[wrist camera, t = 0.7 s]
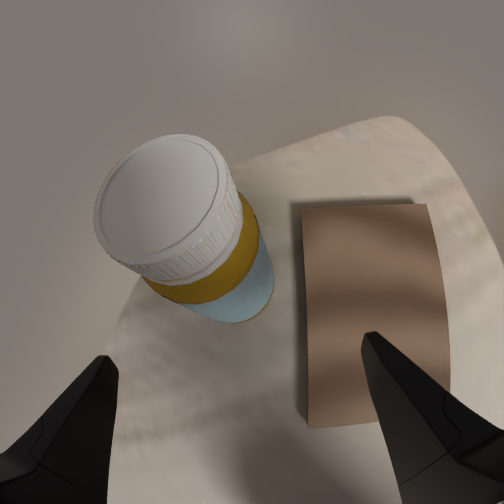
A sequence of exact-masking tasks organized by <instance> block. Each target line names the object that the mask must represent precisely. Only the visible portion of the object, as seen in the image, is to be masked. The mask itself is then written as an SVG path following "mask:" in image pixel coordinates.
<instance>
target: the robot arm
mask: <svg viewBox="0 0 504 504" xmlns="http://www.w3.org/2000/svg"><path fill="white" fill-rule="evenodd" d="M361 356H362V361H363V365H364V369H365V374H366V378H367V383H368V388H369V392H370V395H371V398H372V401H373V404H374V407H375V410H376V413H377V416H378V419H379V422H380V426H381V429H382V432H383V435H384V438H385V442H386V445H387V448H388V452H389V455H390V459H391V462H392V466H393V469H394V473H395V476H396V480H397V484H398V488H399V492H400V496H401V500H402V504H504V430H502V429H500V428H498V427H496V426H494V425H493V424H491V423H490V422H488V421H487V420H485V419H484V418H482V417H481V416H479V415H478V414H477V413H475V412H474V411H472V410H471V409H469V408H468V407H467V406H465V405H464V404H463V403H461V402H460V401H459V400H458V399H456V398H455V397H454V396H453V395H452V394H450V393H449V392H448V391H447V390H445V388H443V387H442V386H441V385H440V384H439V383H438V382H436V381H435V380H434V379H433V378H432V377H431V376H429V375H428V374H427V373H426V372H425V371H423V370H422V369H421V368H420V367H419V366H418V365H416V364H415V363H414V362H413V361H412V360H411V359H409V358H408V357H407V356H406V355H405V354H403V353H402V352H401V351H400V350H399V349H397V348H396V347H395V346H394V345H393V344H391V343H390V342H389V341H388V340H387V339H386V338H384V337H383V336H382V335H381V334H380V333H378V332H377V331H371V332H366V333H365V334H364V336H363V341H362V345H361ZM118 379H119V372H118V369H117V367H116V366H115V364H114V363H113V361H112V360H111V358H110V357H109V356H107V355H99V356H97V358H95V359H94V360H93V362H91V363H90V365H89V366H88V367H87V368H86V369H85V370H84V371H83V372H82V373H81V374H80V375H79V376H78V377H77V378H76V379H75V380H74V381H73V382H72V383H71V384H70V385H69V387H68V388H67V389H66V390H65V391H64V392H63V393H62V394H61V395H60V396H59V397H58V398H57V399H56V400H55V401H54V403H53V404H52V405H51V406H50V407H49V408H48V409H47V410H46V411H45V412H44V414H43V415H42V416H41V417H40V418H39V419H38V420H37V421H36V422H35V423H34V424H33V425H32V426H31V427H30V428H29V429H28V431H26V432H25V433H24V434H23V435H22V436H21V437H20V438H19V439H18V440H17V441H16V442H15V443H14V444H13V445H11V446H10V447H9V448H8V449H7V450H6V451H5V452H3V453H1V454H0V504H107V491H108V477H109V465H110V455H111V446H112V438H113V430H114V423H115V417H116V409H117V394H118Z"/></svg>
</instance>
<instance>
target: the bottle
mask: <svg viewBox="0 0 504 504" xmlns="http://www.w3.org/2000/svg"><path fill="white" fill-rule="evenodd" d="M94 228H95V232H96V235H97V238H98V241H99V242H100V244H101V246H102V247H103V248H104V250H105V251H106V252H107V254H109V255H110V257H111V258H113V259H115V260H116V261H117V262H119V263H121V264H122V265H124V266H126V267H127V268H129V269H131V270H133V271H134V272H136V273H138V274H140V275H142V277H143V278H144V280H145V281H146V282H147V284H148V285H149V286H150V287H151V288H152V289H153V290H154V291H155V292H157V293H158V294H160V295H162V296H163V297H165V298H167V299H169V300H171V301H174V302H176V303H178V304H180V305H182V306H184V307H187V308H189V309H191V310H193V311H195V312H198V313H200V314H202V315H204V316H207V317H209V318H211V319H214V320H216V321H218V322H223V323H232V324H234V323H240V322H244V321H247V320H250V319H251V318H253V317H255V316H256V315H258V314H259V313H260V312H261V311H262V310H263V309H264V308H265V306H266V305H267V304H268V302H269V300H270V298H271V295H272V293H273V289H274V273H273V269H272V266H271V262H270V259H269V256H268V253H267V250H266V247H265V244H264V241H263V238H262V234H261V231H260V228H259V225H258V222H257V219H256V216H255V214H254V212H253V210H252V208H251V206H250V205H249V203H248V202H247V201H246V199H245V198H244V196H243V195H241V194H240V193H239V192H237V190H236V187H235V184H234V182H233V179H232V177H231V174H230V171H229V169H228V166H227V164H226V162H225V160H224V158H223V157H222V155H221V153H220V152H218V151H217V149H216V148H215V147H214V146H213V145H212V144H210V143H209V142H207V141H206V140H204V139H202V138H199V137H196V136H192V135H187V134H173V135H166V136H162V137H158V138H155V139H153V140H150V141H148V142H146V143H144V144H142V145H140V146H138V147H137V148H135V149H134V150H132V151H131V152H129V153H128V154H127V155H126V156H125V157H123V158H122V159H121V160H120V161H119V162H118V163H117V164H116V166H115V167H114V168H113V169H112V170H111V172H110V173H109V174H108V176H107V177H106V179H105V181H104V182H103V185H102V186H101V189H100V191H99V193H98V196H97V199H96V203H95V208H94Z"/></svg>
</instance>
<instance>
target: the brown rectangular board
mask: <svg viewBox="0 0 504 504" xmlns="http://www.w3.org/2000/svg"><path fill="white" fill-rule="evenodd" d="M301 227H302V240H303V255H304V272H305V291H306V315H307V352H308V428H322V427H335V426H345V425H354V424H362V423H370V422H377V421H379V419H378V416H377V413H376V410H375V407H374V404H373V401H372V398H371V395H370V392H369V388H368V383H367V378H366V374H365V369H364V365H363V361H362V356H361V345H362V341H363V336H364V334H365V333H366V332H371V331H377V332H378V333H380V334H381V335H382V336H383V337H384V338H386V339H387V340H388V341H389V342H390V343H391V344H393V345H394V346H395V347H396V348H397V349H399V350H400V351H401V352H402V353H403V354H405V355H406V356H407V357H408V358H409V359H411V360H412V361H413V362H414V363H415V364H416V365H418V366H419V367H420V368H421V369H422V370H423V371H425V372H426V373H427V374H428V375H429V376H431V377H432V378H433V379H434V380H435V381H436V382H438V383H439V384H440V385H441V386H442V387H443V388H445V390H447V391H448V392H449V393H450V344H449V329H448V317H447V308H446V299H445V292H444V285H443V278H442V272H441V266H440V261H439V256H438V251H437V246H436V241H435V237H434V232H433V228H432V224H431V220H430V216H429V212H428V209H427V205H426V204H389V205H357V206H333V207H313V208H301Z"/></svg>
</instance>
